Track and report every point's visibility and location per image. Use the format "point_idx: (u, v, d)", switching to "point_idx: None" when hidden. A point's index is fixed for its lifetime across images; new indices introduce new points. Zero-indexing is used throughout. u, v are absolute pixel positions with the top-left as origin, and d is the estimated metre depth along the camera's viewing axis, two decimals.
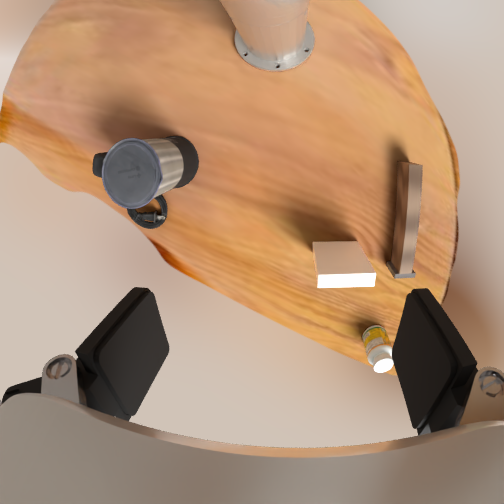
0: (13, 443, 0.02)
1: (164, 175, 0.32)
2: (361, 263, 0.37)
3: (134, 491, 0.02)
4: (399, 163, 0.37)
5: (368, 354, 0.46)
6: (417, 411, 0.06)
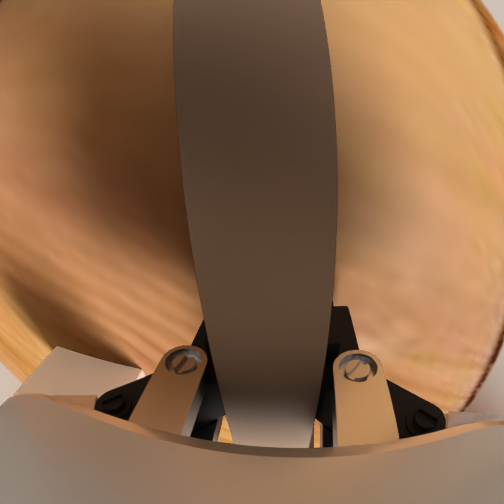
0: (13, 443, 0.02)
1: None
2: None
3: (134, 491, 0.02)
4: None
5: None
6: None
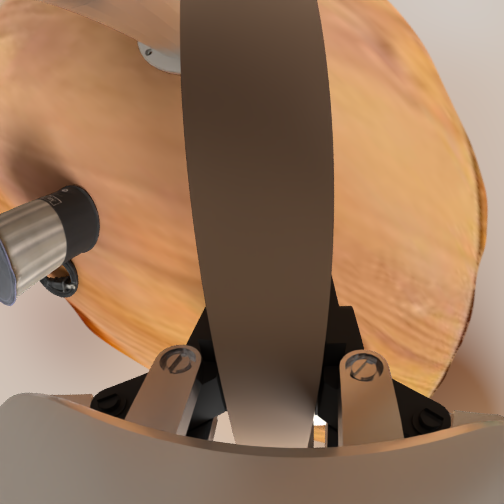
0: (13, 443, 0.02)
1: (24, 267, 0.18)
2: None
3: (134, 491, 0.02)
4: None
5: None
6: None
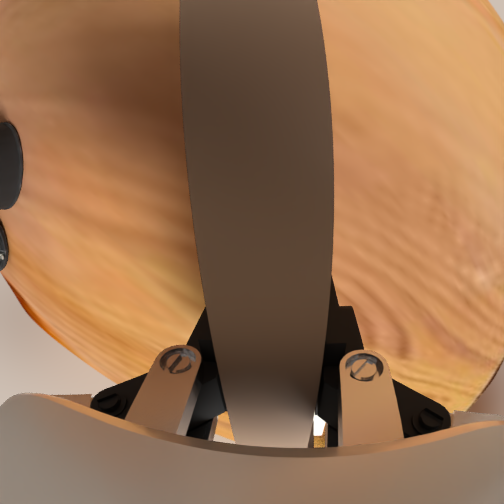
0: (13, 443, 0.02)
1: None
2: None
3: (134, 491, 0.02)
4: None
5: None
6: None
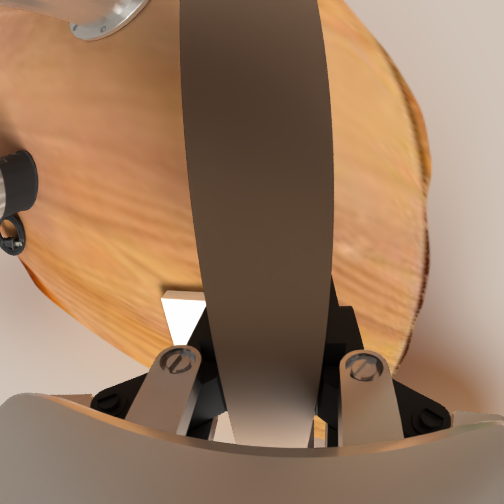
0: (13, 443, 0.02)
1: None
2: None
3: (134, 491, 0.02)
4: None
5: None
6: None
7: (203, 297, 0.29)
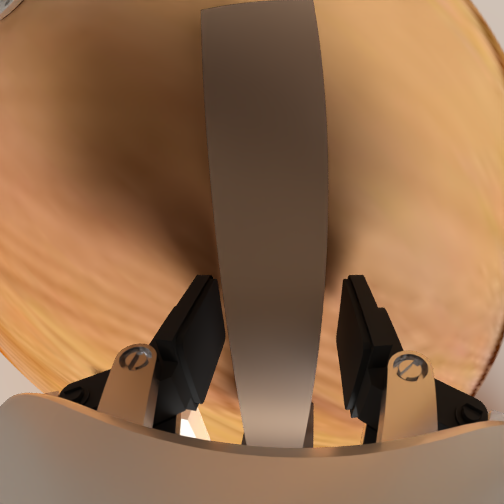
0: (13, 443, 0.02)
1: None
2: None
3: (134, 491, 0.02)
4: None
5: None
6: (347, 392, 0.07)
7: None
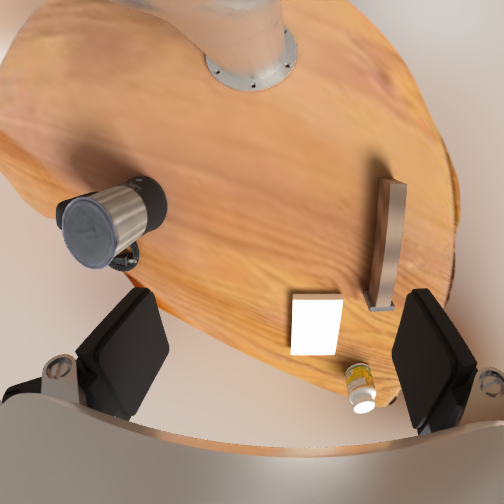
0: (13, 443, 0.02)
1: (122, 235, 0.29)
2: (328, 342, 0.44)
3: (134, 491, 0.02)
4: (380, 180, 0.34)
5: (348, 394, 0.43)
6: (417, 411, 0.06)
7: (323, 297, 0.42)
